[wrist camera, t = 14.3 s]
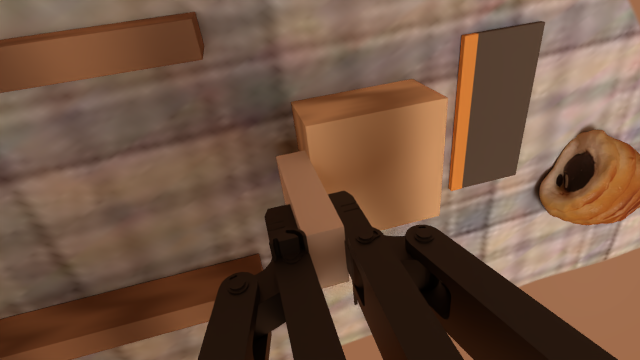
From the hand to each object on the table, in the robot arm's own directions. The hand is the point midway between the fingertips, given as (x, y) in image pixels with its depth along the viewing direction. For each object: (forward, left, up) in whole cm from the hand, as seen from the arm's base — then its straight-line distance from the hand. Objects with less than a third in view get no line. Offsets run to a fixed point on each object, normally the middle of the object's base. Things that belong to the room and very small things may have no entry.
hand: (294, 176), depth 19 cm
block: (+4, 0, -3) cm, 5 cm away
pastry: (+22, -7, -3) cm, 23 cm away
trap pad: (+13, 0, -2) cm, 13 cm away
